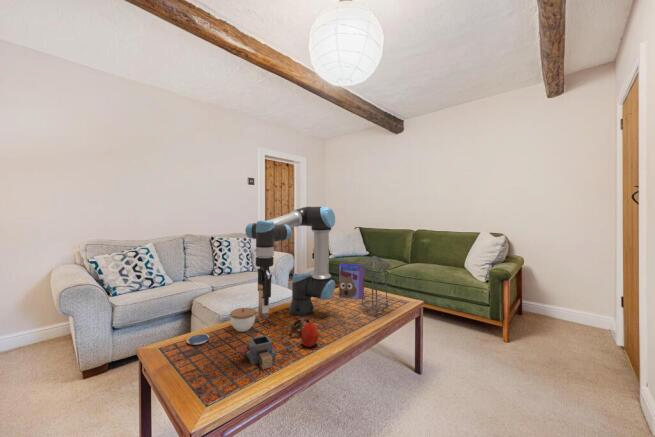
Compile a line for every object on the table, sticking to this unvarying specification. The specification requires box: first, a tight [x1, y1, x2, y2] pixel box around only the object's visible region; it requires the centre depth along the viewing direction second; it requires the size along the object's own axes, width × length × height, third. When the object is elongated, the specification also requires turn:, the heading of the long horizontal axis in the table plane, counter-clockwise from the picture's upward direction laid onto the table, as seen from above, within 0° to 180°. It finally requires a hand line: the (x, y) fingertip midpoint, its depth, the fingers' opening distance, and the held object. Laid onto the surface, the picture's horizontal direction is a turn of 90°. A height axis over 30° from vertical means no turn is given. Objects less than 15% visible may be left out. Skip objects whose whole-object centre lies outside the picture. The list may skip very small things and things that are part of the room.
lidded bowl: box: [229, 307, 257, 333], centre depth 145 cm, size 13×13×11 cm
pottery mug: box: [289, 318, 311, 334], centre depth 142 cm, size 12×10×8 cm
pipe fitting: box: [257, 283, 270, 320], centre depth 119 cm, size 5×5×14 cm
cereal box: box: [338, 263, 365, 300], centre depth 200 cm, size 17×5×24 cm, turn 81°
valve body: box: [236, 334, 277, 371], centre depth 118 cm, size 20×15×7 cm
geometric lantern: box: [358, 255, 392, 316], centre depth 172 cm, size 16×16×35 cm
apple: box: [300, 321, 320, 348], centre depth 130 cm, size 8×8×11 cm
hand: (263, 310), depth 119 cm, fingers closed on pipe fitting, 4 cm apart
